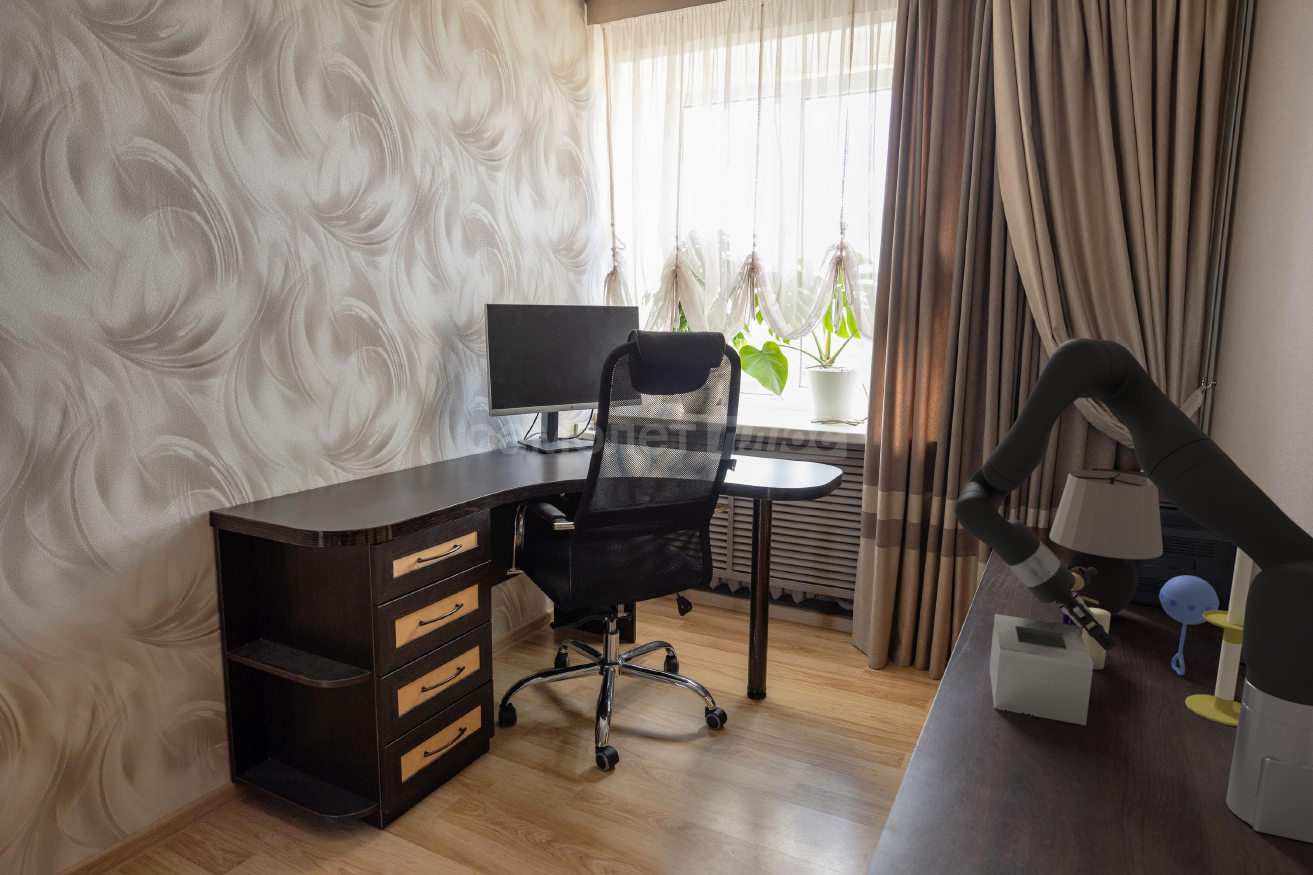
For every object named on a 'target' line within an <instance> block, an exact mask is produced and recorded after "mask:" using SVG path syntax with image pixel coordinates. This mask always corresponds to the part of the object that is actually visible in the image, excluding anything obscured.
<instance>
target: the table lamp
mask: <svg viewBox="0 0 1313 875" xmlns="http://www.w3.org/2000/svg"><path fill="white" fill-rule="evenodd" d="M1061 495H1062V496H1061V499H1060V502H1059V504H1058V508H1057V511H1056V514H1055V518H1054V520H1053V524H1052V527H1051V528H1050V533H1049V538H1050V541H1051V542H1053V543H1056V544H1057V545H1059V546H1062V547H1065V548H1068V549H1069V550H1073V551H1077V553H1075V554H1073V555H1071V556H1070V557H1069V559H1067V561H1066V563H1065V566H1066V567H1067V568H1068V567H1069V566H1071V565H1074V566H1075V567H1082V568H1085V569H1086V570H1087V569H1088V568H1089V567H1093V568H1095V569H1096V570H1097V575H1096V576H1093V577H1092V576H1091V581H1090V583H1089V584H1088V585H1087V586H1085V587H1083V588H1082V589H1080V590H1075V591H1076V592H1078V593H1080V594H1081V595H1082V596H1084V597H1087V598H1090V599H1093V600H1096V601H1098V602H1099V604H1095V603H1093V602H1090V601H1087V600H1084V599H1082V600H1083V601H1084V604H1085V605H1086V606H1087V607H1088V608H1098V609H1102V610H1105V611H1108V612H1109V613H1110V614H1111V616H1110V618H1111V617H1114V616H1115V615H1117V614H1118V613H1120V612H1121V611H1122V610H1123V609H1124V608H1126V607H1127V606H1128V604H1129V603H1130V602H1131V600H1132V598H1133V597H1134V595H1135V592H1136V589H1137V587H1138V584H1139V576H1138V571H1137V569H1136V567H1135V565H1133V564H1132V563H1131V562H1130V561H1129V560H1148V559H1156V558H1158V557H1161V556H1162V555H1163V552H1164V550H1163V548H1164V547H1163V536H1162V524H1161V514H1160V502H1159V500H1160V499H1159V489H1158V488H1157V487H1156V486H1155V485H1154V484H1153V483H1152V481H1151V480H1150V479H1149V478H1148V477H1147V476H1141V475H1138V474H1130V473H1127V472H1126V473H1125V472H1117V471H1110V470H1107V471H1106V470H1097V469H1096V470H1092V469H1090V470H1089V469H1087V470H1086V469H1083V470H1082V469H1081V470H1080V469H1079V470H1073V471H1070V472H1068V476H1067V480H1066V483H1065V487H1064V490H1063V493H1062V494H1061ZM1071 569H1072V568H1070V569H1069V571H1070V570H1071Z"/></svg>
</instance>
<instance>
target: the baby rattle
mask: <svg viewBox="0 0 1313 875" xmlns="http://www.w3.org/2000/svg"><path fill="white" fill-rule="evenodd" d="M1158 597H1159V601H1160V604H1161V606H1162V608H1163V610H1164V612H1165V613H1166V614H1167V615H1168V616H1169V617H1171V618H1172V619H1173V620H1175V621H1177V622H1179V623H1181V624H1182V627H1181V633H1180V639H1179V645H1178V646H1179V647H1178V652H1177V653H1176V654H1175V655H1174V656H1173V657H1172V659H1171V662H1170V663H1171V668H1172V669H1173V671H1175V672H1176V674H1177V675H1178V676H1184V675H1185V671H1186V666H1185V661H1184V654H1183V652H1184V651H1183V650H1184V644H1185V638H1186V633H1187V626H1188V625H1200V624H1202V623H1205V622H1207V621H1206V620H1205V619H1204V618H1203V613H1204V612H1206V611H1210V610H1219V607H1220V600H1219V598H1218V595H1217V592H1216V590H1215V589H1214V587H1213V586H1212V585H1211V584H1210V583H1209V582H1207V581H1206V580H1204V579H1202V578H1200V577H1198V576H1195V575H1179V576H1174V577H1172V578H1170V579H1169V580H1168V581H1167V582H1165V583H1164V585H1163V587H1161V589H1160V591H1159V596H1158ZM1177 660H1178V661H1179V667H1178V666H1177Z"/></svg>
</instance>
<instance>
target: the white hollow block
mask: <svg viewBox="0 0 1313 875" xmlns="http://www.w3.org/2000/svg"><path fill="white" fill-rule="evenodd" d="M1093 670H1094V669H1093V662H1092V660H1091V657H1090V655H1089V653H1088V650H1087V648H1086V645H1085V643H1084V641H1083V638H1082V633H1081V631H1080V629H1079V626H1078V625H1076V626H1074V625H1070V624H1069V625H1067V624H1062V623H1060V622H1055V621H1054V622H1052V621H1046V620H1039V619H1033V618H1032V619H1031V618H1025V617H1024V618H1023V617H1018V616H1011V615H1006V614H1005V615H1004V614H997V613H995V614H994V618H993V629H992V638H991V650H990V660H989V674H990V683H991V684H990V685H991V692H992V693H991V694H992V701H993V708H994V709H995V710H1000V711H1005V710H1007V711H1006V712H1010V711H1011V713H1016V714H1021V713H1024V714H1023V715H1027V714H1030V715H1029V716H1032V715H1033V716H1032V717H1038V718H1045V719H1050V720H1053V721H1054V720H1055V721H1060V722H1066V723H1071V724H1075V725H1076V724H1077V725H1081V726H1087V721H1088V720H1087V719H1088V713H1089V712H1088V710H1089V702H1090V693H1091V685H1092V677H1093Z"/></svg>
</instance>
